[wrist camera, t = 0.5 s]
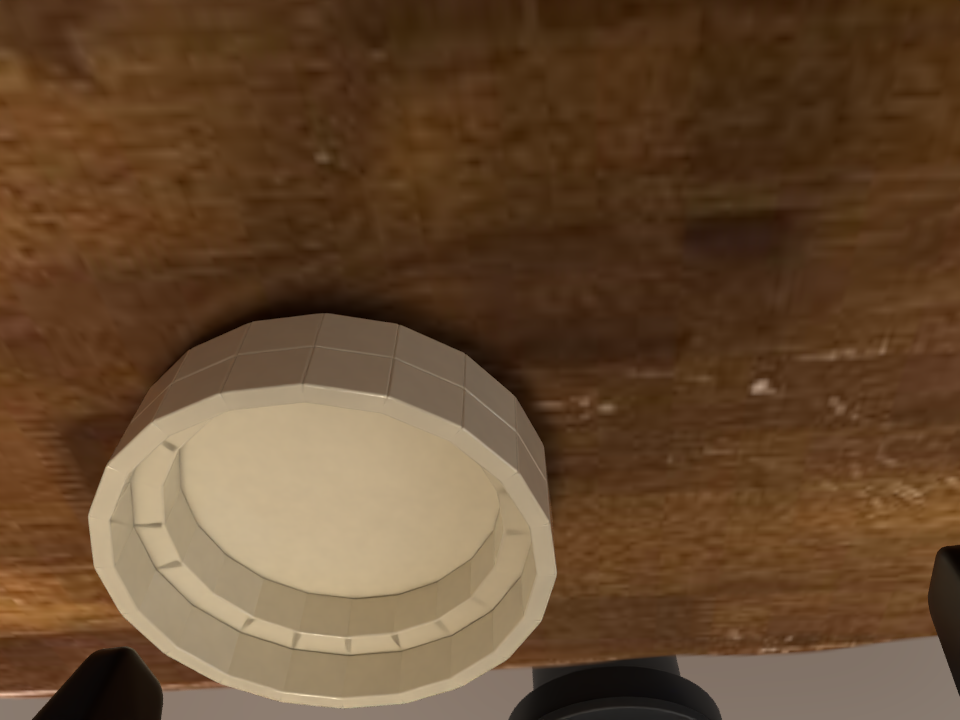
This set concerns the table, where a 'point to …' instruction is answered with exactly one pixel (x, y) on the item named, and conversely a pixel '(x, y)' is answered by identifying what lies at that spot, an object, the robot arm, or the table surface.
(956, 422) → the table surface
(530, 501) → the bowl
